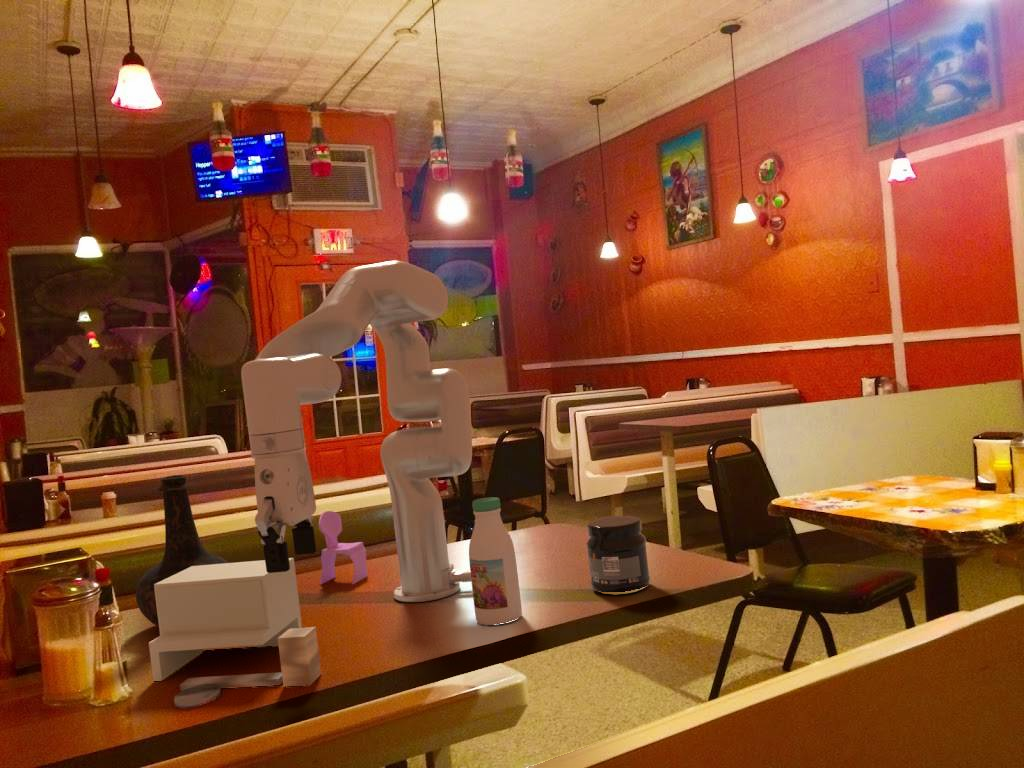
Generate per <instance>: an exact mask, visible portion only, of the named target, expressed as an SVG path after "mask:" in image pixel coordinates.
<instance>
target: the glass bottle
mask: <svg viewBox="0 0 1024 768" xmlns="http://www.w3.org/2000/svg"><path fill="white" fill-rule="evenodd" d="M160 483H161V486H160V487H158V488H157V491H158V492H162V497H163V498H162V499H163V510H164V513H163V514H164V529H165V531H164V532H165V534H164V535H165V536H164V537H165V539H164V540H165V541H164V542H165V546H164V555H163V558H162V559H161V561H160V562H159V563H157V564H156V565H154V566H152V567H151V568H149V569H147V571H146V572H145V573H143V575H142V576H141V578H140V579H139V581H138V583H137V586H136V592H135V600H136V605H137V607H138V609H139V612H141V614H142V615H143V617H145V618H146V619H147V620H148V621H149V622H150V623H151V624H153V625H155V626H156V627H158V628H159V622H158V614H157V606H156V598H155V589H154V584H156V583H158V582H160V581H162V580H164V579H166V578H168V577H171V576H173V575H175V574H177V573H179V572H181V571H183V570H185V569H187V568H189V567H191V566H200V565H212V564H224V563H230V562H229V561H228V560H226V559H225V558H223V557H221V556H218V555H216V554H212V553H210V552H208V551H207V550H206V548H205V547H204V545H203V543H202V541H201V539H200V536H199V533H198V531H197V526H196V523H195V519H194V516H193V511H192V506H191V502H190V496H189V491H188V487H189V485H188V484H187V476H186V475H184V474H183V475H182V474H177V475H170V476H164V477H162V478H160Z"/></svg>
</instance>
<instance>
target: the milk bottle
mask: <svg viewBox="0 0 1024 768" xmlns="http://www.w3.org/2000/svg"><path fill="white" fill-rule="evenodd" d="M471 505H472V506H471V507H472V512H473V513H472V514H473V515H474V520H475V521H474V526H473V529H472V530H473V531H472V533H471V537H470V539H469V547H468V559H469V569H470V570H469V571H470V572H471V589H472V598H473V607H474V608H473V609H474V615H475V620H476V622H477V623H478V624H479V623H480V624H479V625H482V624H484V625H483V626H488V625H494V624H500V623H506V622H509V621H512V620H515V619H517V618H519V617H520V616H521V617H522V615H523V610H522V609H523V608H522V601H521V590H520V583H519V581H520V580H519V573H518V565H517V558H516V552H515V546H514V542H513V539H512V537H511V535H510V533H509V532H508V530H507V528H506V526H505V525H504V522H503V520H502V517H501V511H502V508H501V501H500V497H494V496H490V497H482V498H477V499H475V500H473V501H472V503H471Z"/></svg>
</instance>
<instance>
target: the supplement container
mask: <svg viewBox="0 0 1024 768" xmlns="http://www.w3.org/2000/svg"><path fill="white" fill-rule="evenodd" d="M586 528H587V529H586V530H587V535H588V536H589V538H588V539H587V541H586V544H585V545H586V546H585V547H586V549H587V556H588V566H589V574H590V575H589V577H590V585H591V588H592V589H593V590H594V591H595V590H597V591H601V592H625V591H631V590H635V589H640V588H642V587H645V586H647V585H648V584H649V585H650V582H651V579H650V572H649V564H648V555H647V554H648V553H647V545H646V543H647V539H646V538H647V537H646V536H645V535H644V534H643V533H642V532H641V531H642V529H643V527H642V520H641V518H639V517H637V516H631V515H616V516H605V517H601V518H597V519H593V520H590V521H589V522H588V523H587V525H586ZM649 585H648V586H649ZM648 586H647V587H648Z"/></svg>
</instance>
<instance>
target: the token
mask: <svg viewBox="0 0 1024 768" xmlns="http://www.w3.org/2000/svg"><path fill="white" fill-rule="evenodd" d="M220 693H221V689H220V686H219V685H216V684H204V685H198V686H194V687H191V688H188V689H185V690H183V691H181V690H180V692H178V693H176V694H175V695H174V697H173V703H174V707H176V706H177V707H179V708H178V709H187V708H186V707H193V706H198V705H200V704H203V703H205V702H208V701H211V700H213V699H215V698H217V697H218V696H219V695H220ZM221 694H222V693H221ZM220 696H221V695H220ZM220 696H219V697H220ZM219 697H218V698H219ZM218 698H217V699H218ZM177 707H176V708H177ZM180 707H181V708H180ZM198 707H199V706H198ZM193 708H194V707H193Z"/></svg>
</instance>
